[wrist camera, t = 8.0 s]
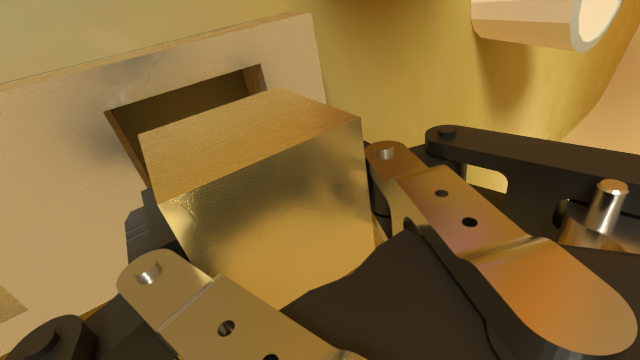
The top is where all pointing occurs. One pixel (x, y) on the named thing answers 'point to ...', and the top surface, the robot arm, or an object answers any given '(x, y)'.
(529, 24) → the white cup
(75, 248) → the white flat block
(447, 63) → the top surface
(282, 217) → the wooden toy cube
